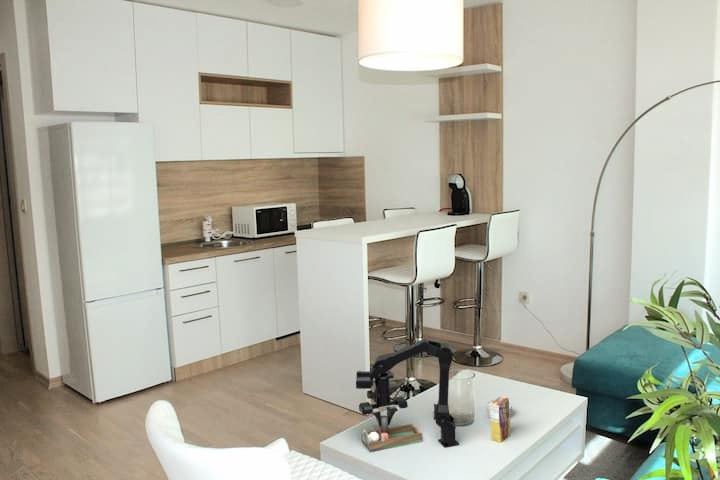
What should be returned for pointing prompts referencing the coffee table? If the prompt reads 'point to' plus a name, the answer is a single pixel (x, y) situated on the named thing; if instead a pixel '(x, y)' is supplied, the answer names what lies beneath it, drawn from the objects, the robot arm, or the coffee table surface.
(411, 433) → the tray
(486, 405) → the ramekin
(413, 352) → the robot arm
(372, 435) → the ball
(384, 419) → the cylinder
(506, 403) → the candy box
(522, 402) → the coffee table surface
